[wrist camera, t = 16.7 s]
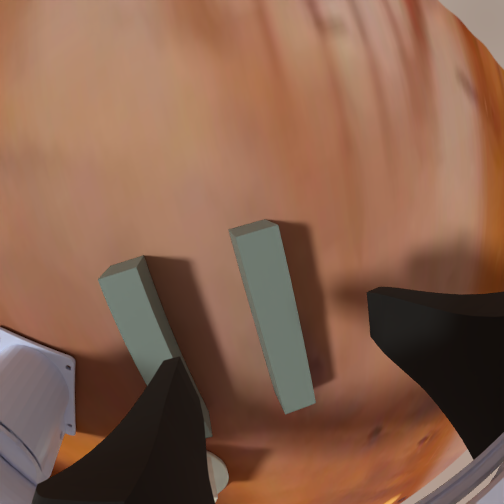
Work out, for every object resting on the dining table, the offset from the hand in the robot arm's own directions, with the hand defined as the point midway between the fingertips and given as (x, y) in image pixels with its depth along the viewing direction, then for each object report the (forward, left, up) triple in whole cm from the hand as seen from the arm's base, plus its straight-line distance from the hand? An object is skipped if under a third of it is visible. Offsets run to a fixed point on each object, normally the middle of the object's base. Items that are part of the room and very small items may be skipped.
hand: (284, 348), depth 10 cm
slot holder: (-5, 0, -10) cm, 12 cm away
